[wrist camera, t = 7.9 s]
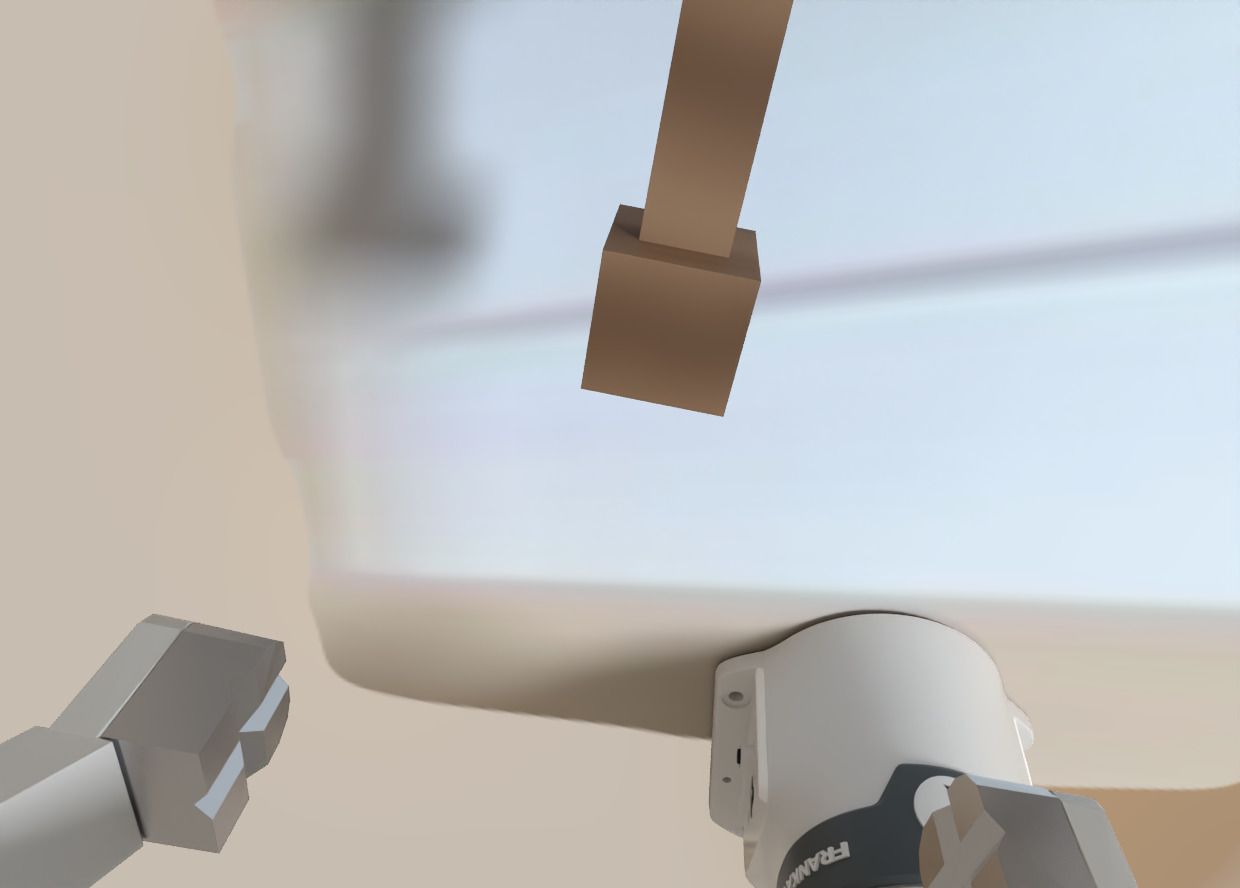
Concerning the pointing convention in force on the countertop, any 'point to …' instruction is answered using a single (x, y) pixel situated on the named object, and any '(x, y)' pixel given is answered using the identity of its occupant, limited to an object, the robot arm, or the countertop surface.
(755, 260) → the wooden mallet
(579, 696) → the countertop surface
